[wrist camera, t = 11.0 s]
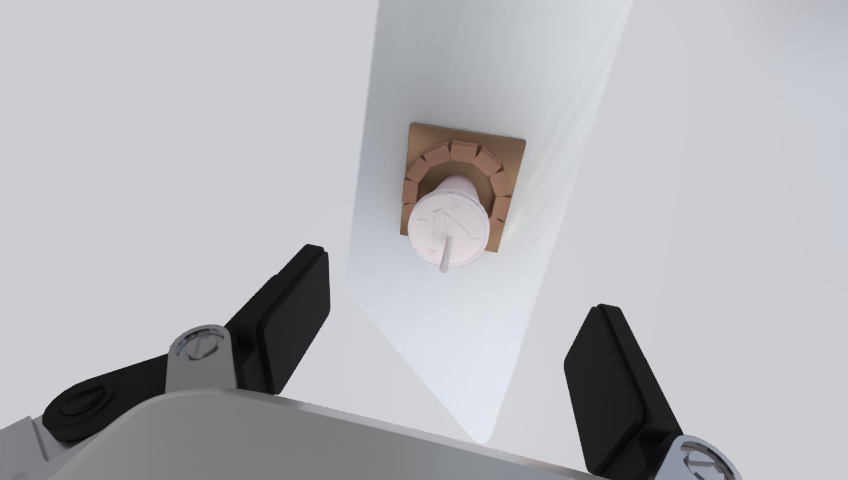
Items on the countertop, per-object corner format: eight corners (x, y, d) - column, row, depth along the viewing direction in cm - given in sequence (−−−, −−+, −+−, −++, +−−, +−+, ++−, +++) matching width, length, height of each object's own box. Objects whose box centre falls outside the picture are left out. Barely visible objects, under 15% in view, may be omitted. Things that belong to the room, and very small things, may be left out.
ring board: (412, 122, 32) (405, 127, 29) (525, 139, 31) (528, 147, 28) (402, 229, 38) (395, 242, 35) (496, 247, 37) (497, 262, 34)
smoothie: (441, 227, 36) (417, 310, 23) (416, 174, 33) (375, 235, 21) (498, 208, 34) (504, 288, 21) (476, 150, 31) (468, 202, 19)
